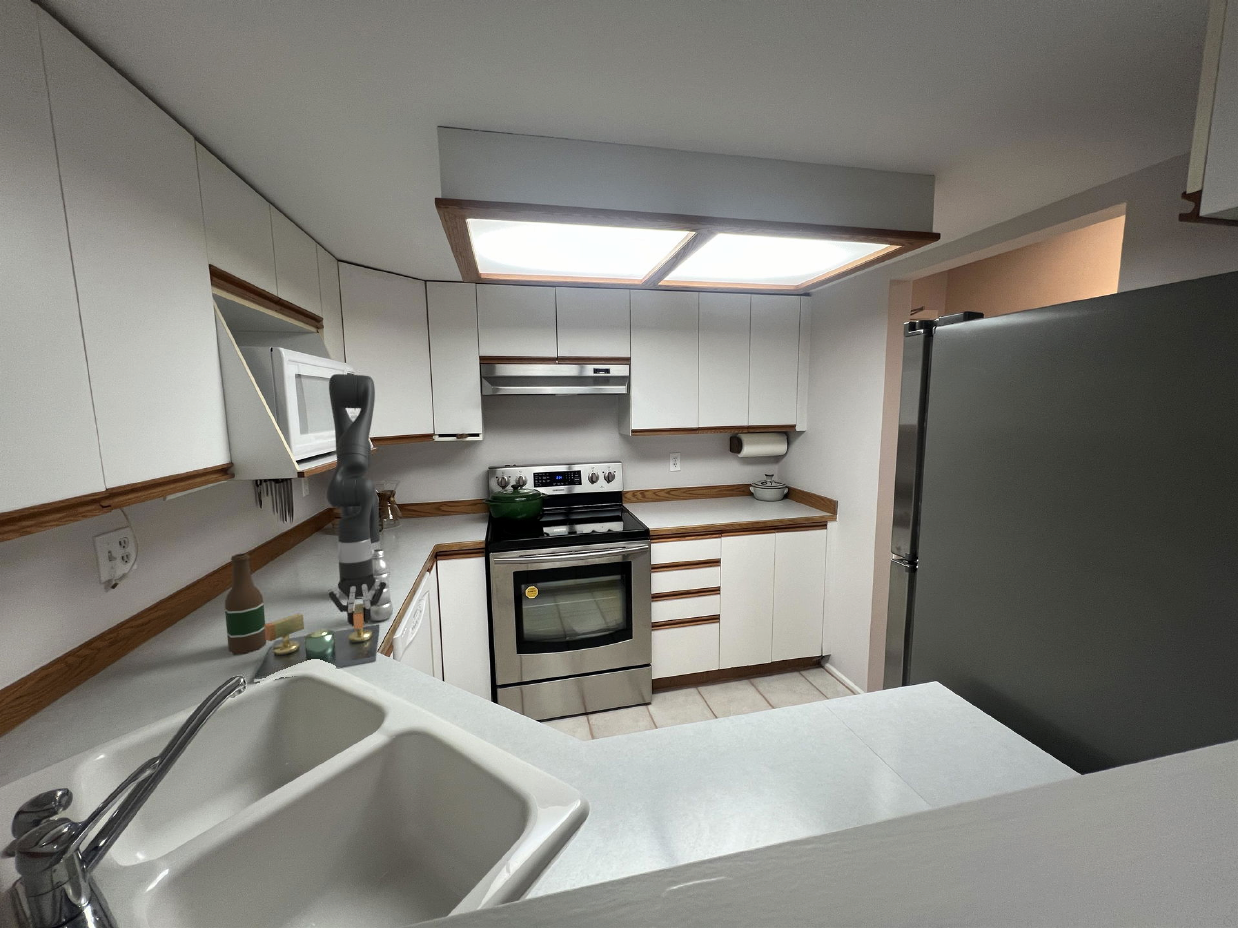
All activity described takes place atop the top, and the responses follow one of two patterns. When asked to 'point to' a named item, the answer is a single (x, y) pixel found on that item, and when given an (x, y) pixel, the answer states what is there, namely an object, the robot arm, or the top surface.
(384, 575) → the plastic bottle
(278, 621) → the knob
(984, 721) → the top surface
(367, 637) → the knob
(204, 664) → the top surface
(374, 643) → the base plate
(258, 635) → the beer bottle
